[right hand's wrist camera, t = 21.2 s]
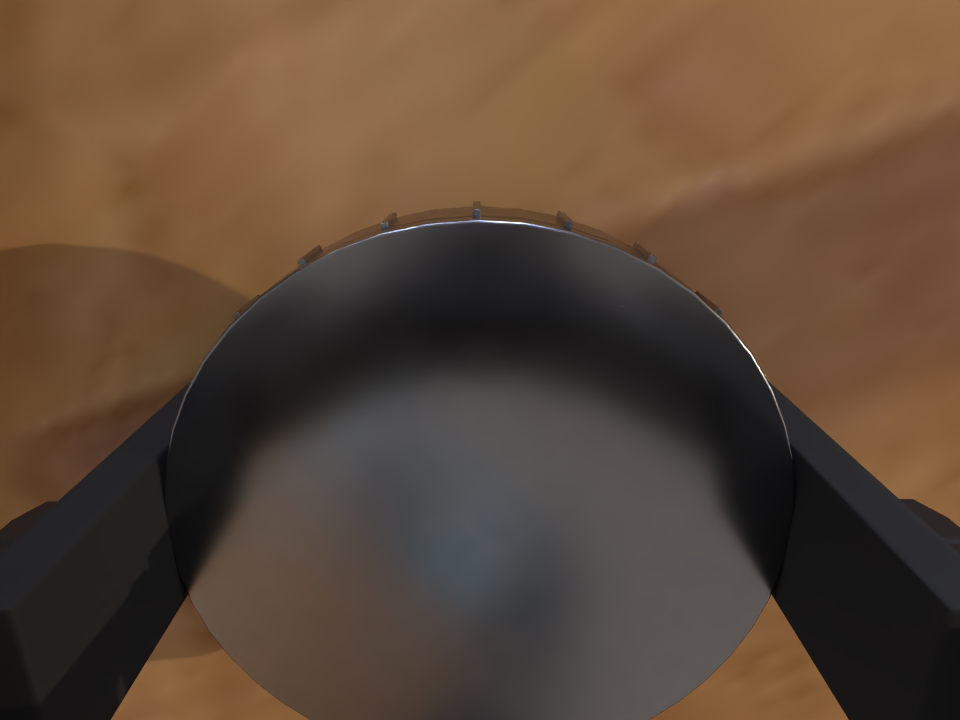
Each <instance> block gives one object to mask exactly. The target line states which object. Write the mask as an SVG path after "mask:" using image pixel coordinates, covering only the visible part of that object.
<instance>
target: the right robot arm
mask: <svg viewBox="0 0 960 720" xmlns="http://www.w3.org/2000/svg"><path fill="white" fill-rule="evenodd" d="M190 383H191V382H190ZM190 383H189V384H188V385H187V386H186V387H184V388H183V389H182V390H181V391H180V392H179V393H178V394H177V395H176V396H174V397H173V398H172V399H171V400H170V401H169V402H168V403H167V404H166V405H164V406H163V407H162V408H161V409H160V410H159V411H158V412H157V413H156V414H154V415H153V416H152V417H151V418H150V419H149V420H148V421H147V422H146V423H144V424H143V425H142V426H141V427H140V428H139V429H138V430H137V431H136V432H135V433H133V434H132V435H131V436H130V437H129V438H128V439H127V440H126V441H125V442H123V443H122V444H121V445H120V446H119V447H118V448H117V449H116V450H115V451H113V452H112V453H111V454H110V455H109V456H108V457H107V458H106V459H105V460H103V461H102V462H101V463H100V464H99V465H98V466H97V467H96V468H95V469H93V470H92V471H91V472H90V473H89V474H88V475H87V476H86V477H85V478H83V479H82V480H81V481H80V482H79V483H78V484H77V485H76V486H75V487H73V488H72V489H71V490H70V491H69V492H68V493H67V494H66V495H65V496H63V497H62V498H61V499H60V500H59V501H58V502H45V503H44V504H42V505H40V506H38V507H36V508H34V509H32V510H30V511H29V512H27V513H25V514H23V515H21V516H19V517H17V518H15V519H14V520H12V521H11V522H10V523H8V524H7V525H6V526H5V527H4V528H2V529H1V530H0V720H111V718H112V717H113V715H114V713H115V712H116V710H117V708H118V707H119V705H120V704H121V702H122V700H123V699H124V697H125V695H126V694H127V692H128V691H129V689H130V687H131V686H132V684H133V682H134V681H135V679H136V678H137V676H138V674H139V673H140V671H141V670H142V668H143V666H144V665H145V663H146V661H147V660H148V658H149V657H150V655H151V653H152V652H153V650H154V648H155V647H156V645H157V644H158V642H159V640H160V639H161V637H162V635H163V634H164V632H165V631H166V629H167V627H168V626H169V624H170V623H171V621H172V619H173V618H174V616H175V614H176V613H177V611H178V610H179V608H180V606H181V605H182V603H183V601H184V600H185V598H186V597H187V595H188V592H187V590H186V588H185V586H184V583H183V581H182V579H181V577H180V574H179V572H178V569H177V565H176V562H175V557H174V552H173V548H172V543H171V538H170V533H169V527H168V521H167V516H166V510H165V504H164V500H165V466H166V460H167V455H168V449H169V444H170V439H171V433H172V429H173V426H174V423H175V420H176V417H177V415H178V412H179V409H180V406H181V403H182V400H183V398H184V395H185V392H186V391H187V389H188V387H189V385H190ZM768 383H769V384H770V386H771V388H772V390H773V393H774V395H775V398H776V401H777V403H778V406H779V409H780V411H781V414H782V417H783V419H784V422H785V424H786V429H787V434H788V439H789V444H790V448H791V453H792V458H793V469H794V489H795V502H794V512H793V519H792V524H791V530H790V536H789V540H788V545H787V550H786V555H785V559H784V563H783V567H782V569H781V572H780V574H779V577H778V579H777V581H776V584H775V586H774V589H773V591H772V593H771V594H772V596H773V597H774V599H775V601H776V602H777V604H778V605H779V607H780V609H781V610H782V612H783V614H784V615H785V617H786V618H787V620H788V622H789V623H790V625H791V626H792V628H793V630H794V631H795V633H796V635H797V636H798V638H799V639H800V641H801V643H802V644H803V646H804V648H805V649H806V651H807V652H808V654H809V656H810V657H811V659H812V661H813V662H814V664H815V665H816V667H817V669H818V670H819V672H820V674H821V675H822V677H823V678H824V680H825V682H826V683H827V685H828V686H829V688H830V690H831V691H832V693H833V695H834V696H835V698H836V699H837V701H838V703H839V704H840V706H841V708H842V709H843V711H844V712H845V714H846V716H847V717H848V719H849V720H960V528H959V527H958V526H957V525H956V524H955V523H953V522H952V521H951V520H950V519H949V518H947V517H945V516H943V515H942V514H940V513H938V512H936V511H934V510H932V509H930V508H928V507H927V506H925V505H923V504H921V503H919V502H917V501H915V500H913V499H898V498H897V497H896V496H895V495H894V494H893V493H892V492H890V491H889V490H888V489H887V488H886V487H885V486H884V485H883V484H882V483H880V482H879V481H878V480H877V479H876V478H875V477H874V476H873V475H872V474H870V473H869V472H868V471H867V470H866V469H865V468H864V467H863V466H862V465H861V464H859V463H858V462H857V461H856V460H855V459H854V458H853V457H852V456H851V455H849V454H848V453H847V452H846V451H845V450H844V449H843V448H842V447H841V446H839V445H838V444H837V443H836V442H835V441H834V440H833V439H832V438H831V437H829V436H828V435H827V434H826V433H825V432H824V431H823V430H822V429H821V428H819V427H818V426H817V425H816V424H815V423H814V422H813V421H812V420H811V419H809V418H808V417H807V416H806V415H805V414H804V413H803V412H802V411H801V410H799V409H798V408H797V407H796V406H795V405H794V404H793V403H792V402H791V401H790V400H788V399H787V398H786V397H785V396H784V395H783V394H782V393H781V392H780V391H778V390H777V389H776V388H775V387H774V386H773V385H772V384H771V383H770V382H768Z"/></svg>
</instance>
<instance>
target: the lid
mask: <svg viewBox="0 0 960 720" xmlns="http://www.w3.org/2000/svg"><path fill="white" fill-rule="evenodd" d="M656 259H657V258H656V257H655V256H654V255H652V254H651V253H650V252H649V251H647V250H646V249H645V248H643V247H642V246H641V245H639V244H637V243H636V242H635V243H634V245H633V246H630V245H628V244H626V243H624V242H622V241H620V240H618V239H616V238H614V237H612V236H610V235H608V234H606V233H604V232H602V231H600V230H598V229H595V228H592V227H589V226H586V225H583V224H580V223H577V222H574V221H572V220H571V219H570V218H569V217H568V216H567V215H566V214H565V213H564V212H560V211H558V213H557V216H554V215H549V214H543V213H538V212H533V211H528V210H523V209H515V208H498V207H481V206H480V201H473V207H461V208H447V209H435V210H430V211H425V212H421V213H416V214H411V215H406V216H402V217H397V215H396V213H391V214H389V215H388V216H387V217H386V218H385V219H384V220H383V221H382V222H381V223H379V224H376V225H374V226H371V227H368V228H365V229H362V230H360V231H357V232H354V233H353V234H351V235H349V236H347V237H345V238H343V239H341V240H339V241H337V242H335V243H333V244H332V245H330V246H328V247H326V248H324V249H322V248H321V247H320V245H318V246H317V247H315V248H314V249H312V250H311V251H310V252H308V253H307V254H306V255H304V256H303V257H302V258H300V259H299V260H298V261H297V262H298V263H299V266H298V267H296V268H295V269H294V270H292V271H291V272H289V273H288V274H287V275H286V276H284V277H283V278H282V279H281V280H279V281H278V282H277V283H275V284H274V285H273V286H272V287H270V288H269V289H268V290H267V291H265V292H264V293H263V294H262V295H257V296H256V297H255V298H254V299H252V300H251V301H250V302H248V303H247V304H246V305H245V306H243V307H242V308H241V309H240V310H238V311H237V312H236V313H235V314H234V315H233V318H235V320H234V321H233V322H232V323H231V324H230V325H229V326H228V328H227V329H226V330H225V332H224V333H223V334H222V335H221V337H220V338H219V339H218V341H217V342H216V343H215V345H214V346H213V347H212V349H211V350H210V351H209V353H208V354H207V355H206V356H205V358H204V359H203V361H202V363H201V365H200V367H199V369H198V370H197V372H196V374H195V376H194V377H193V378H192V380H191V383H190V385H189V387H188V389H187V391H186V392H185V395H184V398H183V400H182V403H181V406H180V409H179V412H178V415H177V417H176V420H175V423H174V426H173V429H172V433H171V439H170V444H169V449H168V455H167V460H166V466H165V500H164V504H165V510H166V516H167V521H168V527H169V533H170V538H171V543H172V548H173V552H174V557H175V562H176V565H177V569H178V572H179V574H180V577H181V579H182V581H183V583H184V586H185V588H186V590H187V592H188V595H189V597H190V599H191V601H192V604H193V605H194V607H195V608H196V610H197V612H198V613H199V615H200V617H201V618H202V620H203V621H204V623H205V625H206V626H207V628H208V629H209V631H210V633H211V634H212V635H213V636H214V638H215V639H216V640H217V641H218V643H219V644H220V645H221V646H222V647H223V649H224V650H225V651H226V652H227V654H228V655H229V656H230V657H231V659H232V660H233V661H234V662H235V663H236V664H238V665H239V666H240V667H241V668H242V669H243V670H244V671H245V672H246V673H247V674H248V675H249V676H250V677H251V678H252V679H253V680H254V681H255V682H256V683H257V684H259V685H260V686H261V687H263V688H264V689H265V690H267V691H268V692H269V693H270V694H272V695H273V696H274V697H276V698H277V699H278V700H280V701H281V702H282V703H284V704H285V705H287V706H288V707H290V708H292V709H293V710H295V711H297V712H298V713H300V714H302V715H303V716H305V717H307V718H308V719H310V720H650V719H651V718H653V717H655V716H656V715H658V714H659V713H661V712H663V711H664V710H666V709H667V708H669V707H671V706H672V705H674V704H675V703H677V702H679V701H680V700H681V699H683V698H684V697H685V696H686V695H688V694H689V693H690V692H691V691H693V690H694V689H695V688H697V687H698V686H699V685H700V684H702V683H703V682H704V681H705V680H707V679H708V678H709V677H710V676H711V675H712V674H713V673H714V672H715V671H716V670H717V669H718V668H719V667H720V666H721V665H722V664H723V663H724V662H725V661H726V660H727V659H728V658H729V657H730V656H731V654H732V653H733V652H734V650H735V649H736V648H737V647H738V645H739V644H740V643H741V642H742V640H743V639H744V638H745V636H746V635H747V634H748V633H749V631H750V630H751V629H752V627H753V625H754V624H755V622H756V620H757V619H758V617H759V615H760V614H761V612H762V610H763V609H764V607H765V605H766V603H767V602H768V600H769V598H770V596H771V593H772V591H773V589H774V586H775V584H776V581H777V579H778V577H779V574H780V572H781V569H782V567H783V563H784V559H785V555H786V550H787V545H788V540H789V536H790V530H791V524H792V519H793V512H794V502H795V489H794V469H793V458H792V453H791V448H790V444H789V439H788V434H787V429H786V424H785V422H784V419H783V417H782V414H781V411H780V409H779V406H778V403H777V401H776V398H775V395H774V393H773V390H772V388H771V386H770V384H769V383H768V381H767V378H766V376H765V374H764V373H763V372H762V370H761V369H760V367H759V365H758V363H757V362H756V360H755V358H754V356H753V355H752V353H751V352H750V351H749V349H748V348H747V347H746V346H745V344H744V343H743V342H742V341H741V339H740V338H739V337H738V336H737V334H736V333H735V332H734V331H733V329H732V328H731V327H730V326H729V324H728V323H727V322H726V321H725V320H724V319H723V318H722V317H721V316H720V315H721V314H722V313H723V312H722V311H721V310H720V308H718V307H717V306H716V305H715V304H713V303H712V302H711V301H709V300H708V299H707V298H706V297H704V296H703V295H702V294H700V293H699V292H698V291H696V292H694V291H693V290H691V289H690V288H689V287H687V286H686V285H685V284H684V283H683V282H681V281H680V280H679V279H677V278H676V277H675V276H674V275H672V274H671V273H670V272H669V271H667V270H666V269H665V268H663V267H662V266H660V265H659V264H657V263H656V262H655V261H656Z"/></svg>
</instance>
